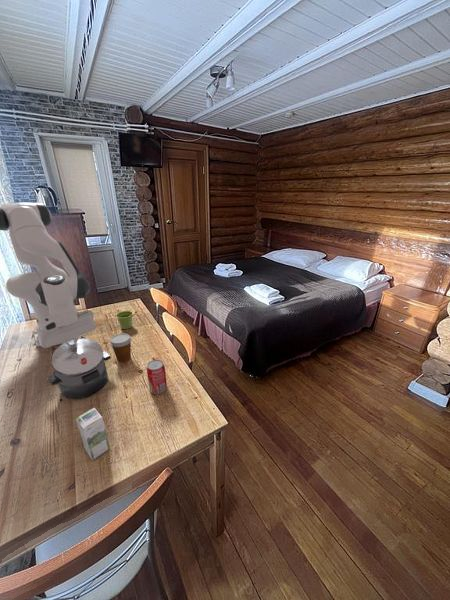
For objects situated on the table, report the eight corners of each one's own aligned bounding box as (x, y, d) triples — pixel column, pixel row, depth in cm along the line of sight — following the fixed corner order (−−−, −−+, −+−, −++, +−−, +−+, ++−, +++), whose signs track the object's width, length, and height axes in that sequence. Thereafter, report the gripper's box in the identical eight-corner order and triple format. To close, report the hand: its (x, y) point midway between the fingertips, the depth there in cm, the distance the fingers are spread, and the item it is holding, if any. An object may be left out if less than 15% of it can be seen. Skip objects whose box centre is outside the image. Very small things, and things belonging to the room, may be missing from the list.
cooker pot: (48, 387, 108) (41, 366, 103) (102, 362, 123) (97, 343, 119) (65, 412, 96) (58, 390, 92) (122, 381, 112) (118, 360, 107)
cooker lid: (43, 351, 103) (41, 345, 101) (89, 333, 116) (88, 328, 114) (64, 384, 94) (62, 378, 92) (111, 361, 106) (111, 355, 104)
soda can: (170, 387, 109) (168, 362, 103) (158, 398, 103) (155, 372, 98) (158, 381, 112) (155, 356, 107) (145, 391, 106) (142, 366, 101)
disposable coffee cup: (125, 366, 121) (121, 345, 116) (109, 362, 124) (104, 341, 119) (138, 355, 129) (135, 334, 124) (122, 351, 132) (118, 331, 127)
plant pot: (114, 329, 152) (112, 316, 148) (124, 322, 160) (122, 309, 157) (128, 332, 150) (126, 318, 146) (137, 324, 158) (136, 311, 154)
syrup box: (102, 438, 86) (93, 406, 81) (110, 449, 83) (102, 416, 77) (84, 450, 83) (74, 417, 77) (92, 462, 79) (82, 428, 73)
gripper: (88, 306, 109) (95, 334, 114) (31, 323, 95) (42, 354, 100) (95, 310, 105) (101, 339, 111) (37, 329, 91) (47, 361, 96)
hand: (72, 347), depth 105 cm, fingers closed, pressing on cooker lid
